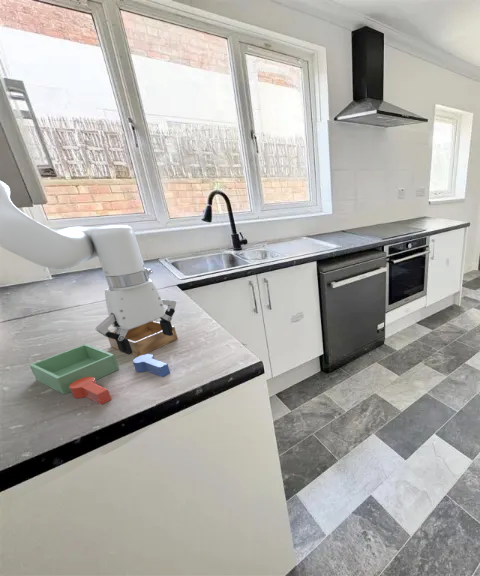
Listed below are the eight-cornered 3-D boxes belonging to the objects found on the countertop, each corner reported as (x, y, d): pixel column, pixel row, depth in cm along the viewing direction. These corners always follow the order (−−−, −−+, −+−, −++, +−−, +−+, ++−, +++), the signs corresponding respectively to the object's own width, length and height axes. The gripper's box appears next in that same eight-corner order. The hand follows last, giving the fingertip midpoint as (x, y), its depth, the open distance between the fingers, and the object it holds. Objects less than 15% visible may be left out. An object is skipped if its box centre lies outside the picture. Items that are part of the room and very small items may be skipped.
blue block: (175, 370, 81) (172, 361, 80) (157, 379, 77) (154, 370, 76) (149, 361, 85) (146, 352, 84) (131, 369, 81) (128, 360, 80)
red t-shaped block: (117, 396, 71) (114, 386, 70) (94, 408, 67) (90, 398, 66) (92, 384, 76) (88, 374, 75) (69, 395, 72) (65, 385, 71)
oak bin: (138, 356, 87) (134, 342, 86) (111, 346, 93) (106, 333, 91) (177, 339, 97) (174, 326, 95) (150, 331, 103) (146, 318, 101)
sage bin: (64, 394, 72) (57, 378, 71) (36, 380, 78) (29, 364, 76) (119, 369, 82) (114, 354, 80) (90, 357, 87) (85, 343, 86)
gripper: (156, 268, 81) (173, 326, 87) (73, 289, 66) (100, 357, 72) (174, 270, 78) (191, 331, 84) (91, 293, 63) (118, 364, 69)
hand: (149, 343), depth 78 cm, fingers open, 9 cm apart
